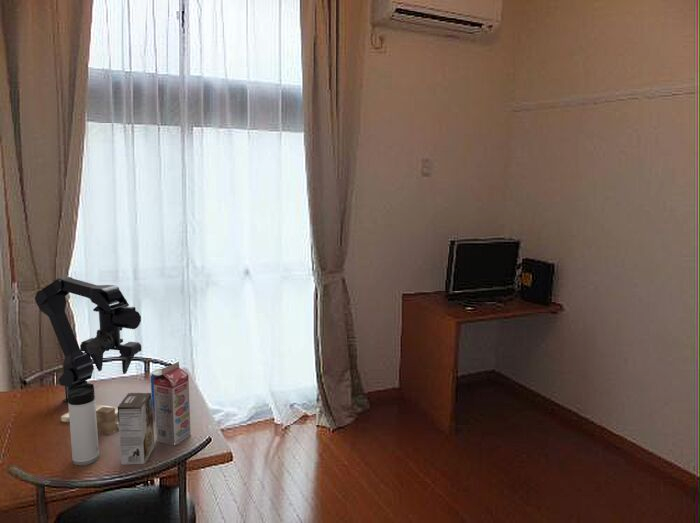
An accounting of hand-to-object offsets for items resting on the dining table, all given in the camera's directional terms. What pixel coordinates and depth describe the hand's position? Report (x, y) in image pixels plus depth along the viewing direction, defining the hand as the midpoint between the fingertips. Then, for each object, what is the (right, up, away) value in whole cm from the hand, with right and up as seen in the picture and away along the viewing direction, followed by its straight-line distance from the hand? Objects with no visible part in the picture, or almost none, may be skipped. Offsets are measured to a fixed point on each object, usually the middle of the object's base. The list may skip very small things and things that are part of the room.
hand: (112, 372), depth 169 cm
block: (+6, -14, -11) cm, 18 cm away
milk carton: (+26, -15, -18) cm, 35 cm away
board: (0, -13, -6) cm, 14 cm away
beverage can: (+15, -12, +3) cm, 20 cm away
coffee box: (+20, -17, -28) cm, 38 cm away
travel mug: (+7, -17, -30) cm, 35 cm away
